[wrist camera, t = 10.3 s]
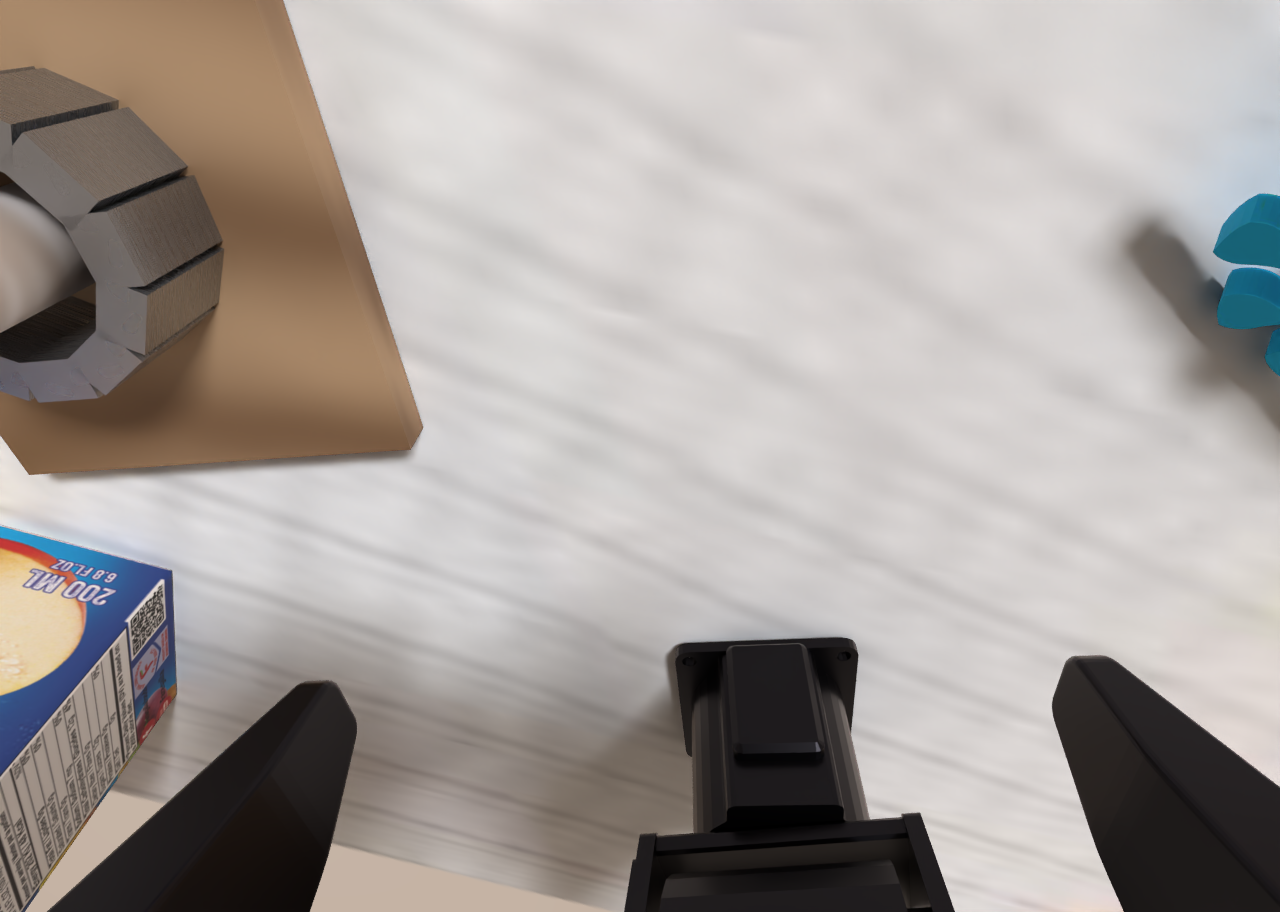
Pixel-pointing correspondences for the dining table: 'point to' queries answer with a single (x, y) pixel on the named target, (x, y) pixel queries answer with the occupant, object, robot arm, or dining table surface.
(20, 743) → the juice carton
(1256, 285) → the gear
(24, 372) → the hub ring
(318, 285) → the shaft stand
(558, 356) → the dining table surface
